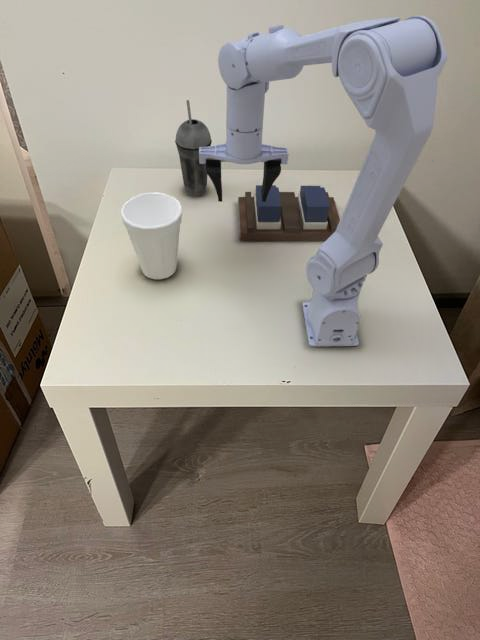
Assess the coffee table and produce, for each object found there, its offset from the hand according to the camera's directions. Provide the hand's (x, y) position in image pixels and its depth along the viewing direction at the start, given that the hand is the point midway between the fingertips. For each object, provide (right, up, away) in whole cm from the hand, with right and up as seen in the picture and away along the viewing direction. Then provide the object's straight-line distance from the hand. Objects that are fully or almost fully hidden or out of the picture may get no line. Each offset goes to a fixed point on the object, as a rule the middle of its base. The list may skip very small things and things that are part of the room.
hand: (241, 198), depth 86 cm
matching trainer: (+14, 0, +12) cm, 18 cm away
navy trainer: (+5, 0, +11) cm, 12 cm away
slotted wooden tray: (+9, -2, +13) cm, 16 cm away
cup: (-15, -12, +3) cm, 20 cm away
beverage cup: (-10, +6, +19) cm, 23 cm away
